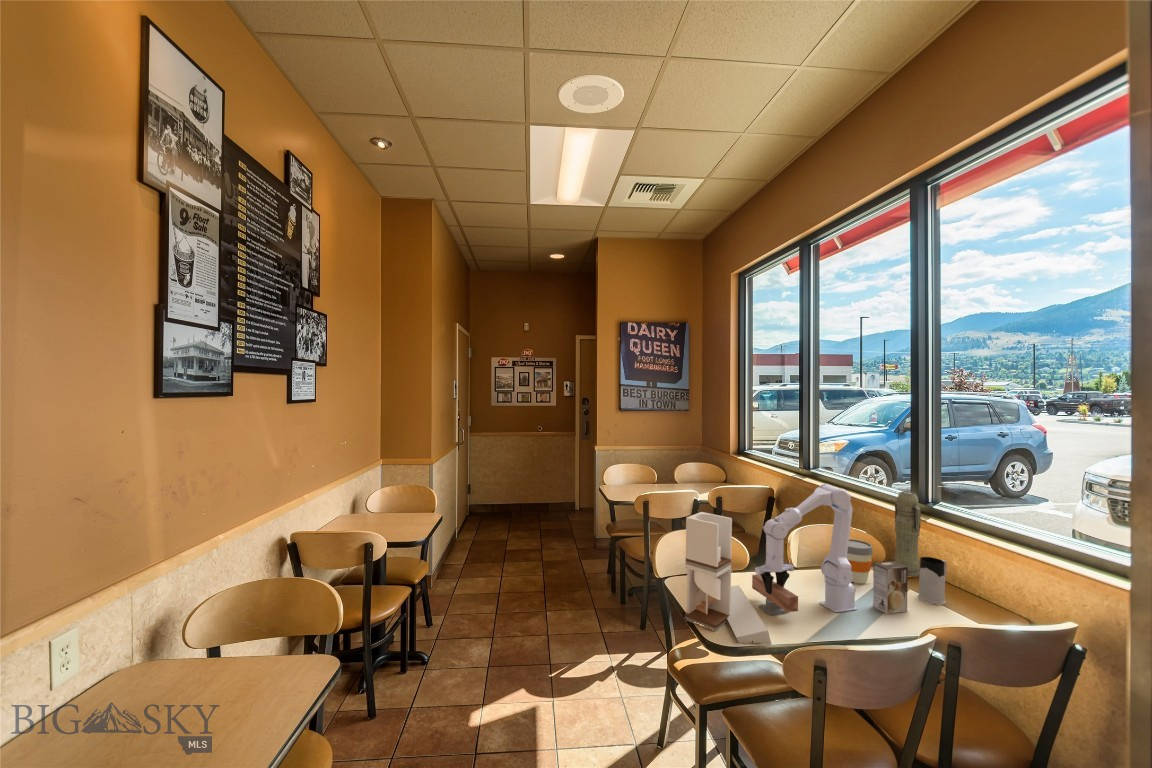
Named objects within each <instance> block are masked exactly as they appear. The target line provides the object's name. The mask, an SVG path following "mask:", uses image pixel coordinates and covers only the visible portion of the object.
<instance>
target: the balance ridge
mask: <svg viewBox="0 0 1152 768" xmlns="http://www.w3.org/2000/svg"><path fill="white" fill-rule="evenodd" d="M758 608H759V609H760V610H762V611H763V612H764V613H765V614H766V615H769V616H775V615H776V616H777V615H781V614H783V615H784V614H789V613H790V612H787V611H785V610H784V609H782V608H781V607H779V606H778V605H776V604H775V603H773V602H772V601H770V600H769V599H767V598H766V597H765V604H764V603H763V604H758Z"/></svg>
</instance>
